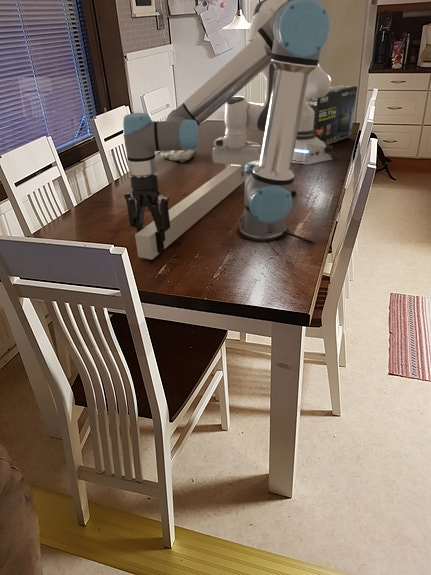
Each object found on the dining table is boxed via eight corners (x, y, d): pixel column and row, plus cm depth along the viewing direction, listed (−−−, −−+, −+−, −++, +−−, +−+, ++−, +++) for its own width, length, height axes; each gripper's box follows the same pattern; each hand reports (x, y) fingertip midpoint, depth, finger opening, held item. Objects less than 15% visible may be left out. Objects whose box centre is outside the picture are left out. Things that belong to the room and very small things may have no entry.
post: (152, 259, 134) (149, 236, 130) (138, 257, 135) (134, 234, 132) (246, 179, 194) (246, 162, 190) (235, 178, 196) (235, 161, 192)
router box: (314, 151, 231) (318, 94, 217) (296, 148, 237) (299, 92, 224) (352, 138, 251) (358, 85, 238) (335, 135, 258) (340, 83, 245)
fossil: (184, 156, 217) (163, 136, 220) (174, 174, 223) (154, 154, 227) (205, 153, 231) (186, 134, 234) (195, 171, 237) (176, 152, 240)
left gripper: (178, 172, 125) (185, 248, 137) (123, 167, 132) (134, 240, 144) (165, 180, 119) (173, 259, 131) (108, 174, 126) (121, 250, 138)
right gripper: (263, 140, 181) (263, 174, 188) (216, 137, 188) (217, 170, 196) (258, 144, 176) (258, 179, 183) (210, 141, 184) (211, 175, 191)
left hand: (152, 249), depth 138 cm, fingers closed on post, 5 cm apart
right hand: (236, 175), depth 190 cm, fingers closed on post, 5 cm apart
